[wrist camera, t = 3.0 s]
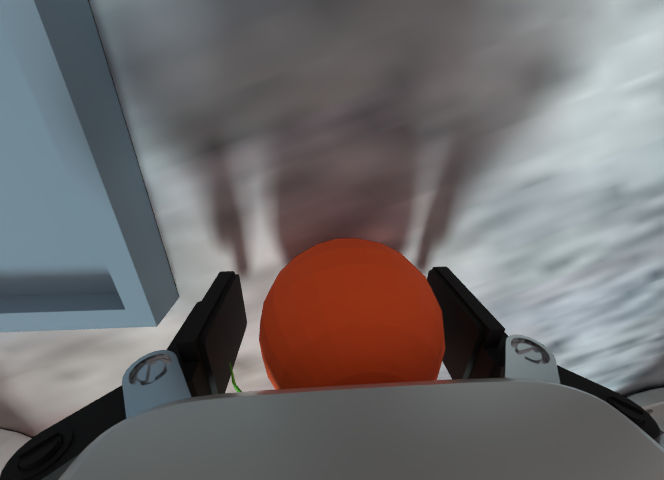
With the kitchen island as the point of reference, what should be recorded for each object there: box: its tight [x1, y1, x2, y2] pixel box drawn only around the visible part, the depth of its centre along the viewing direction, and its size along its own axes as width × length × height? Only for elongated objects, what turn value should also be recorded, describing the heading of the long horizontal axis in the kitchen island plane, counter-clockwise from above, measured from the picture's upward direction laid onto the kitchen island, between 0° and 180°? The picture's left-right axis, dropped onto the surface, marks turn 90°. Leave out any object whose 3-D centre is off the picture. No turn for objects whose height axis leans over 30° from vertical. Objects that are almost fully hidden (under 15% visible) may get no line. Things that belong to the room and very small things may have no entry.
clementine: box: [229, 238, 445, 392], centre depth 10 cm, size 8×7×7 cm
